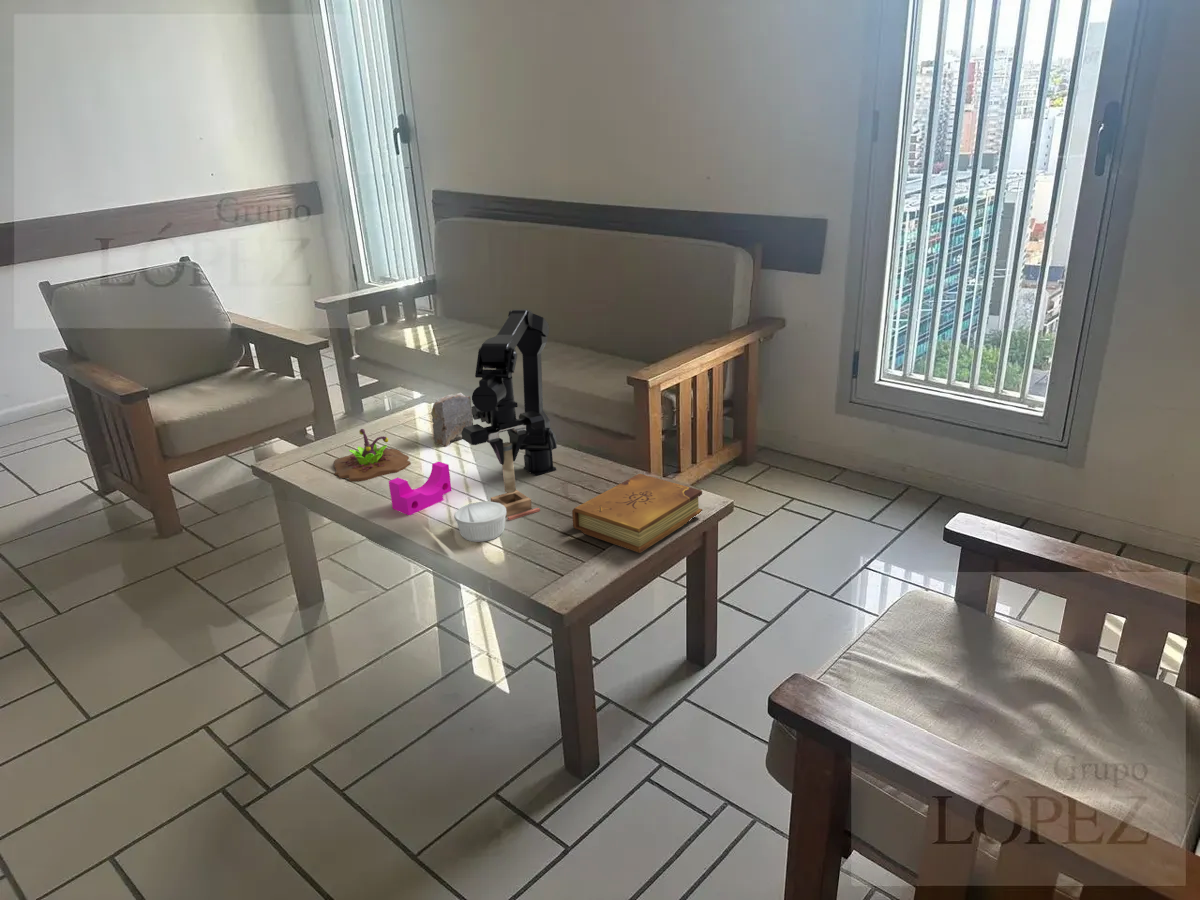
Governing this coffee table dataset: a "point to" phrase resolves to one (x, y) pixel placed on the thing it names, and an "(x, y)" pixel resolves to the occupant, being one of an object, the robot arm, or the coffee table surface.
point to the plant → (370, 461)
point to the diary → (637, 512)
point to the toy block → (421, 491)
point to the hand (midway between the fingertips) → (507, 462)
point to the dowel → (508, 468)
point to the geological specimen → (451, 418)
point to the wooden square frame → (515, 504)
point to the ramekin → (481, 521)
